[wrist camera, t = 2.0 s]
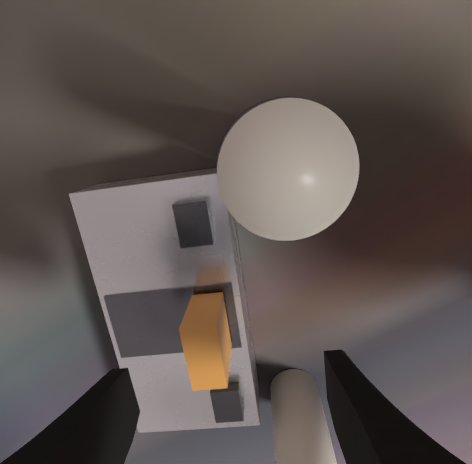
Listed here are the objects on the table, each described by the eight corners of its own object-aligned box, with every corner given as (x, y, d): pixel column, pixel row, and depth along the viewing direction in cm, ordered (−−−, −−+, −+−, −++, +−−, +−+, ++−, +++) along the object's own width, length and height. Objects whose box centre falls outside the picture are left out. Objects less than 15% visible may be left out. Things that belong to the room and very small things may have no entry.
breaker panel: (226, 166, 17) (220, 174, 13) (258, 384, 21) (259, 434, 17) (99, 183, 17) (60, 196, 14) (154, 392, 21) (135, 442, 18)
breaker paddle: (222, 292, 15) (216, 326, 12) (231, 345, 16) (227, 388, 13) (191, 295, 15) (178, 329, 13) (202, 348, 16) (192, 391, 13)
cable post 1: (310, 132, 16) (393, 130, 6) (283, 191, 17) (321, 265, 7) (251, 106, 16) (246, 65, 6) (227, 167, 17) (191, 213, 7)
